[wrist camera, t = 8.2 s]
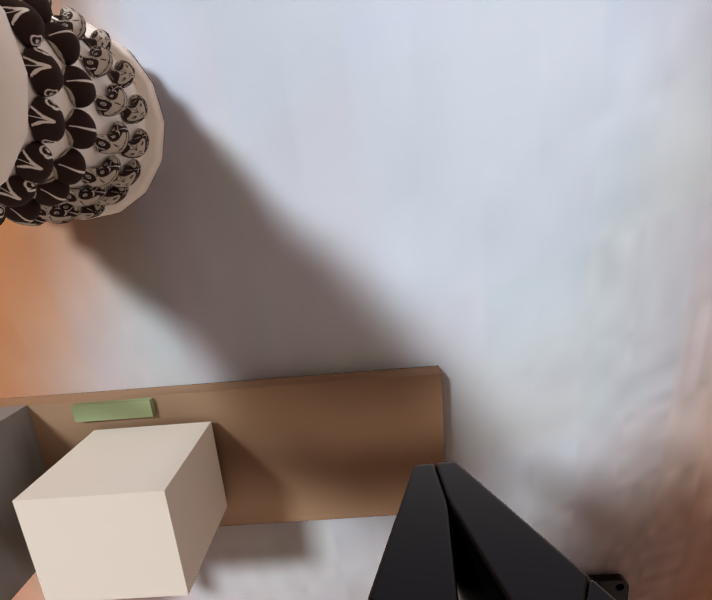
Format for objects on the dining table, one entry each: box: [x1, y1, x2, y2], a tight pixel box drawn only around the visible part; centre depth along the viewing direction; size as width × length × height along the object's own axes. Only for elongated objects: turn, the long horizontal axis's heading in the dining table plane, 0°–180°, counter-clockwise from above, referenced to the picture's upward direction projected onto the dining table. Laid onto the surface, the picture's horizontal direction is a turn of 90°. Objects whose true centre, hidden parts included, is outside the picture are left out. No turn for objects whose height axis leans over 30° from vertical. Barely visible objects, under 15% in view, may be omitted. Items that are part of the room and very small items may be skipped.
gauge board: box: [0, 366, 445, 600], centre depth 19 cm, size 9×24×7 cm, turn 95°
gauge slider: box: [12, 422, 227, 600], centre depth 19 cm, size 8×6×5 cm
